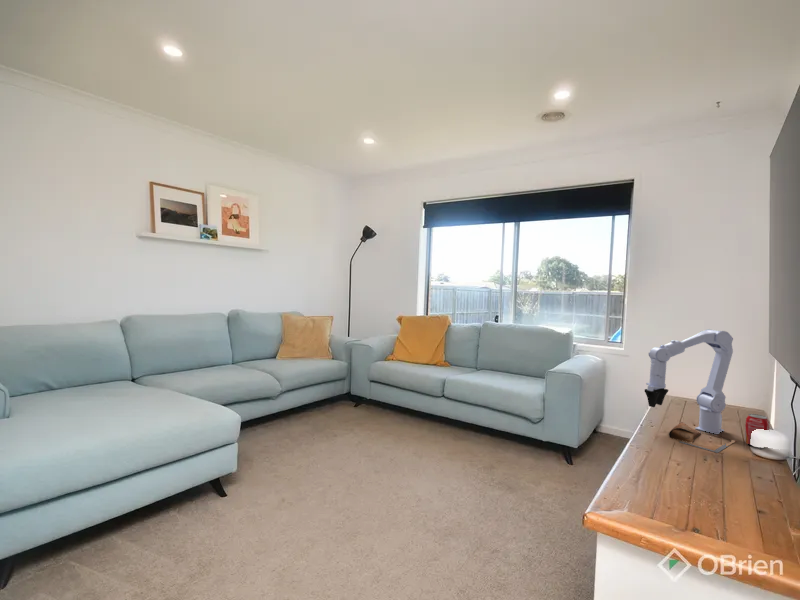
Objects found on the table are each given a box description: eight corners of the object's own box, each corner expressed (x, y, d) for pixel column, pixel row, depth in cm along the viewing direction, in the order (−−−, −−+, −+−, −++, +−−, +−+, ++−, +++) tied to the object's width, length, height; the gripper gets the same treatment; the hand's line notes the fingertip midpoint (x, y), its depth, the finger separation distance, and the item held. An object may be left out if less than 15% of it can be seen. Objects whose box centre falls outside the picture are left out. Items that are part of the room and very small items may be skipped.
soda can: (758, 443, 162) (760, 413, 162) (773, 450, 155) (775, 419, 155) (739, 442, 163) (741, 412, 162) (753, 448, 156) (755, 418, 155)
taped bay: (700, 431, 174) (700, 431, 174) (736, 441, 164) (736, 440, 164) (678, 442, 159) (678, 441, 159) (717, 453, 149) (717, 452, 149)
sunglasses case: (693, 443, 158) (684, 426, 161) (675, 447, 163) (666, 431, 165) (701, 433, 171) (692, 418, 173) (684, 437, 175) (675, 422, 178)
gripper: (654, 371, 184) (652, 401, 184) (640, 374, 175) (638, 405, 175) (671, 375, 179) (669, 405, 179) (659, 377, 170) (656, 409, 170)
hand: (655, 405), depth 177 cm, fingers open, 7 cm apart
